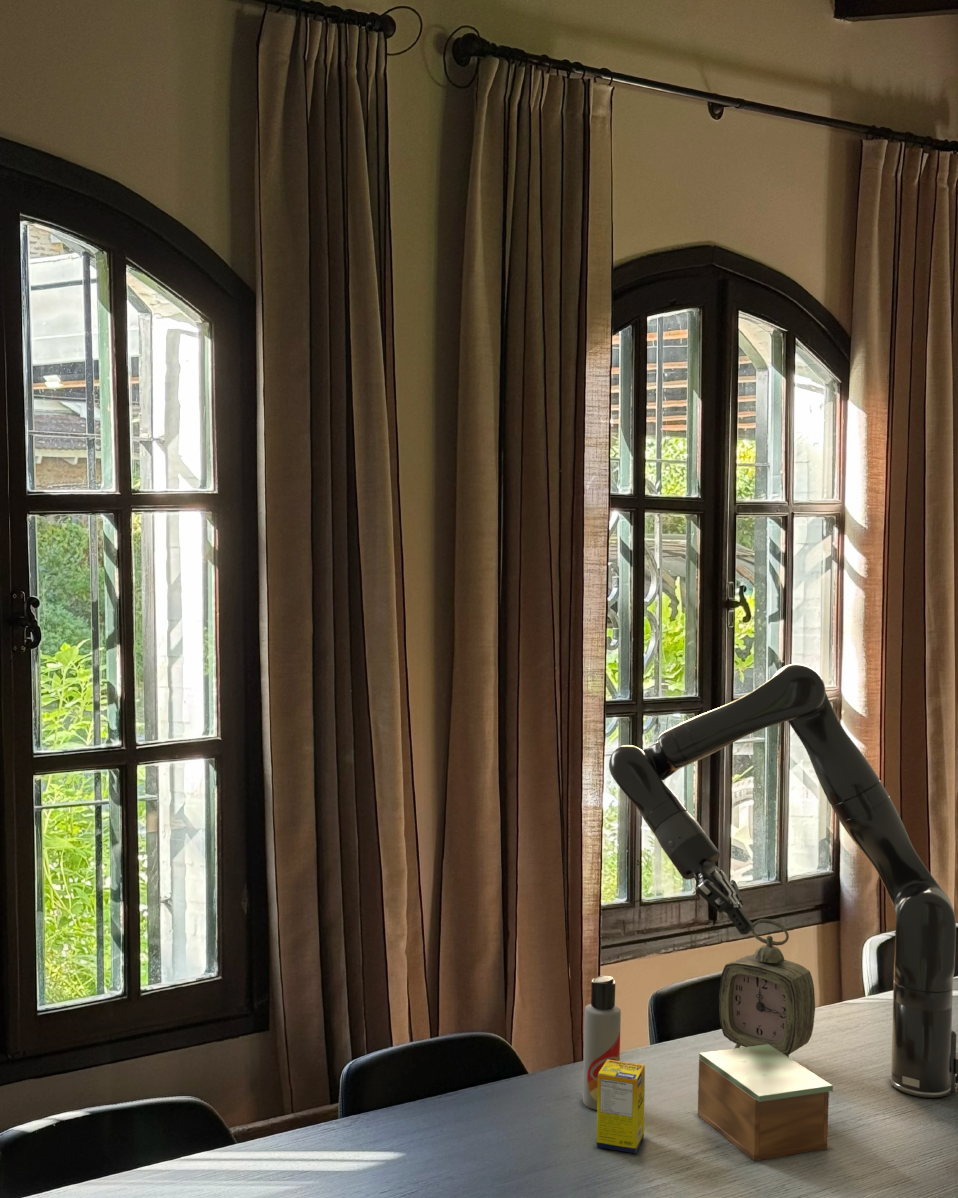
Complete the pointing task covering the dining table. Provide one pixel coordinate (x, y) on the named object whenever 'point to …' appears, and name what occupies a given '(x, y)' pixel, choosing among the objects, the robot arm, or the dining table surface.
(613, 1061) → the supplement box
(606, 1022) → the lotion bottle
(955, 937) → the robot arm
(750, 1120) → the box
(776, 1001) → the tabletop clock
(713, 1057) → the box lid
